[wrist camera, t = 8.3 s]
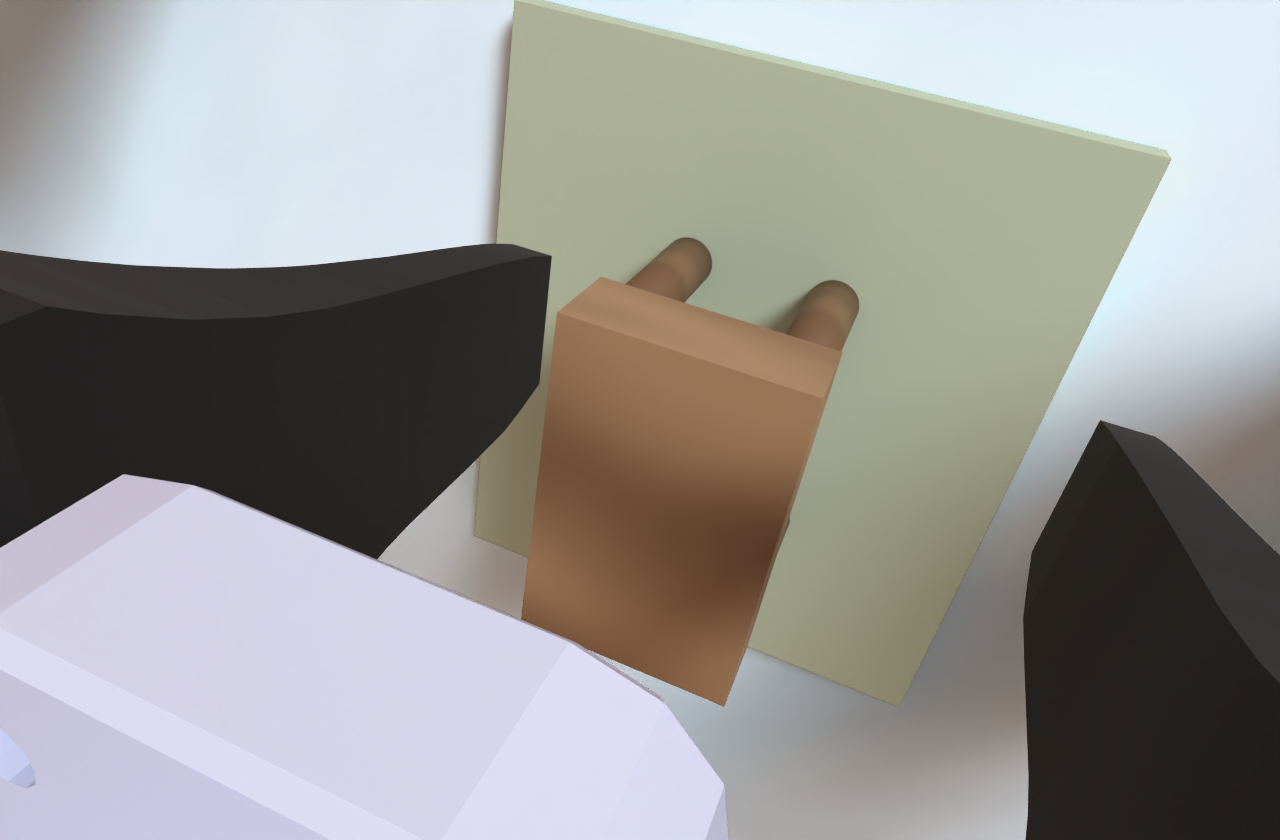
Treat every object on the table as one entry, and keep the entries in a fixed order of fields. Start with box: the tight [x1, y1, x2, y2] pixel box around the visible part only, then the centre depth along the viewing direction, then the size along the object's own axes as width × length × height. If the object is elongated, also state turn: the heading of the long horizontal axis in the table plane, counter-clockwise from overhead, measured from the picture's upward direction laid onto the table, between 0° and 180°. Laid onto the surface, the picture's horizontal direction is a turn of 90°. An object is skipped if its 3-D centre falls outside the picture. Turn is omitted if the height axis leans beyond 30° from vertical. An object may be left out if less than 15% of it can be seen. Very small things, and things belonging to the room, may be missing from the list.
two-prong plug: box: [521, 237, 859, 706], centre depth 20 cm, size 8×5×6 cm, turn 169°
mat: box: [474, 0, 1171, 707], centre depth 22 cm, size 14×16×1 cm
